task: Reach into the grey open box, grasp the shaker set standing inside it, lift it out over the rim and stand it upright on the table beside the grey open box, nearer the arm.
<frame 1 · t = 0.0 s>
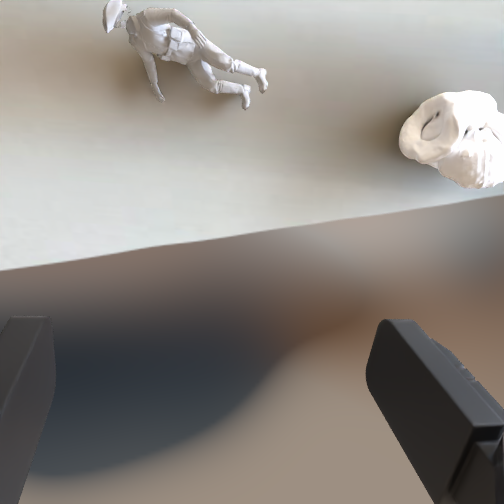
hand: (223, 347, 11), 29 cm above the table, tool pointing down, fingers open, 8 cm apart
soldier figure: (188, 55, 34), on the table
white irregular lump: (452, 133, 41), on the table
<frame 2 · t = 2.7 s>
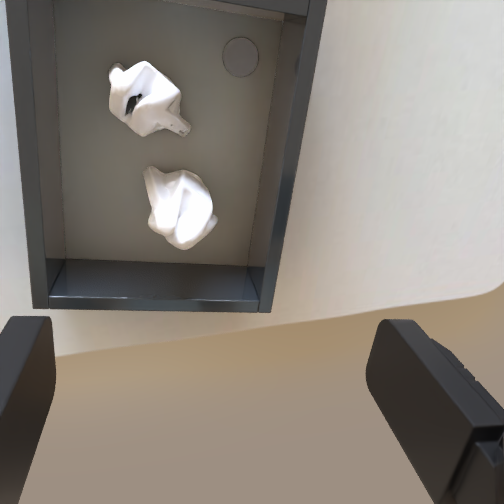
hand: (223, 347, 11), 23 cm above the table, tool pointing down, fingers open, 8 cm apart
shaker set: (166, 147, 30), resting in grey open box
grey open box: (166, 148, 30), on the table
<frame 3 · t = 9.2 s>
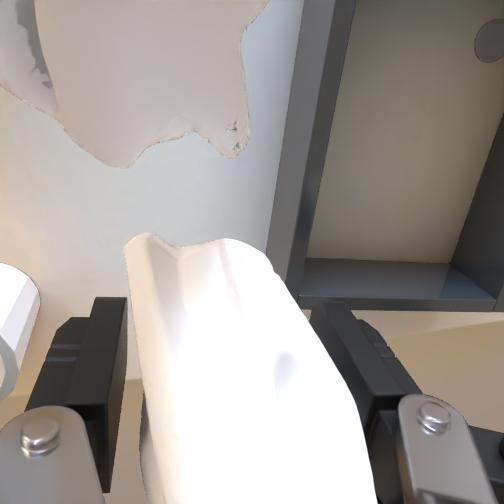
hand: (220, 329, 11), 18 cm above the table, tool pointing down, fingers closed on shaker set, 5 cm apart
shaker set: (182, 182, 12), point 15 cm above the table, touching gripper
grey open box: (399, 139, 29), on the table
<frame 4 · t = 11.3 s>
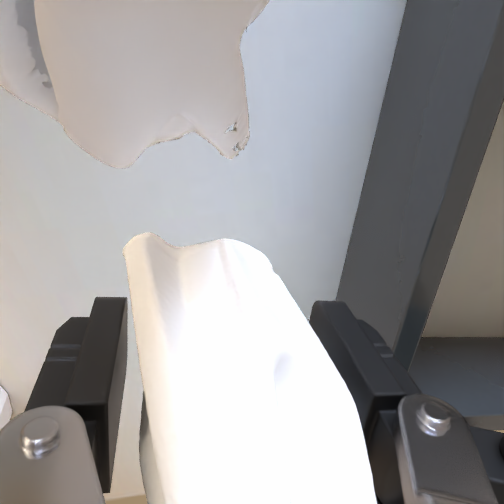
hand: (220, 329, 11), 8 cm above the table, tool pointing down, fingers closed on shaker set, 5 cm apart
shaker set: (182, 182, 12), point 5 cm above the table, touching gripper
when the fingers open (3 cm above the table, at t = 12.9 s): shaker set stays where it is, on the table.
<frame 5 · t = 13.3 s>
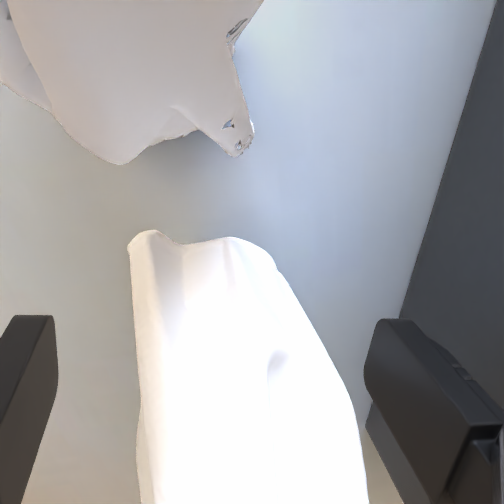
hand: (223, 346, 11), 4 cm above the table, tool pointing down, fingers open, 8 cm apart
shaker set: (188, 180, 13), on the table
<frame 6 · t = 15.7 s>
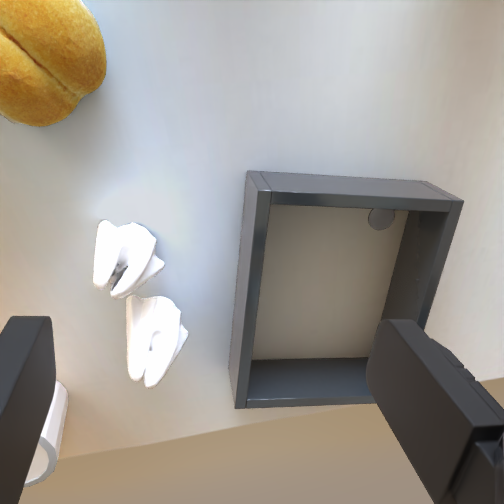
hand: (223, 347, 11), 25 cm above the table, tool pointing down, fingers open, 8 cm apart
bread roll: (39, 55, 29), on the table
shaker set: (146, 276, 37), on the table
grey open box: (321, 280, 40), on the table
white cylinder: (38, 396, 41), on the table
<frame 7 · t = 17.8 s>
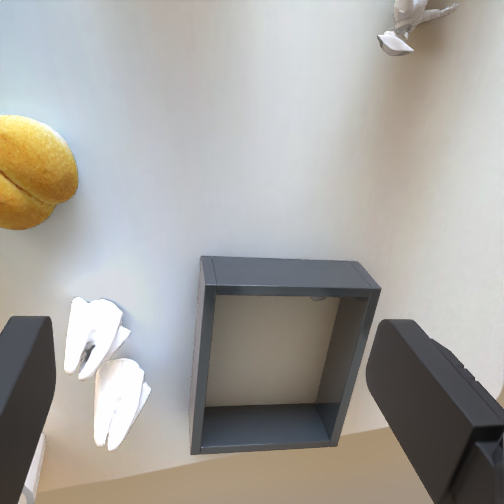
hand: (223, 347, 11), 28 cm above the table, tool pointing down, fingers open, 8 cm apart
bread roll: (21, 169, 35), on the table
shaker set: (114, 341, 43), on the table
grey open box: (268, 341, 46), on the table
white cylinder: (18, 440, 46), on the table
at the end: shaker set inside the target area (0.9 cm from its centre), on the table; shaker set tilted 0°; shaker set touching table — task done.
